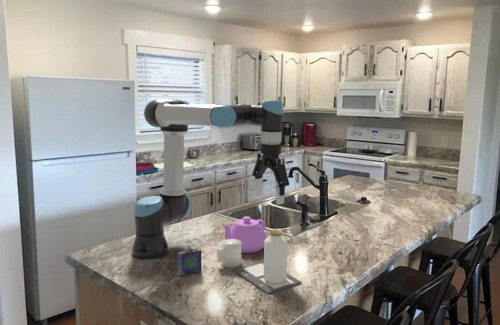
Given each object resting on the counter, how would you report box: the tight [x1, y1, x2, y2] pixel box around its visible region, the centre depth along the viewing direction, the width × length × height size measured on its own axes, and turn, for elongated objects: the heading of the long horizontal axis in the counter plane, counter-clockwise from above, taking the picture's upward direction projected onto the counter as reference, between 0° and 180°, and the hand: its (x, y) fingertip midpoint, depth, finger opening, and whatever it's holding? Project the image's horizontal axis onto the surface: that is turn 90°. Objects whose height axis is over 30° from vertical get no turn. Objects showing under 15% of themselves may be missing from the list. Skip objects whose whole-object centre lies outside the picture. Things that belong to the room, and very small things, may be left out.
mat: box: [233, 261, 302, 295], centre depth 154 cm, size 15×22×1 cm
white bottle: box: [263, 229, 288, 284], centre depth 149 cm, size 8×8×18 cm
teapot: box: [221, 216, 267, 254], centre depth 182 cm, size 25×18×14 cm
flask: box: [177, 245, 202, 277], centre depth 156 cm, size 9×3×11 cm, turn 117°
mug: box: [216, 239, 242, 269], centre depth 164 cm, size 10×8×9 cm
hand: (269, 199), depth 154 cm, fingers open, 13 cm apart
